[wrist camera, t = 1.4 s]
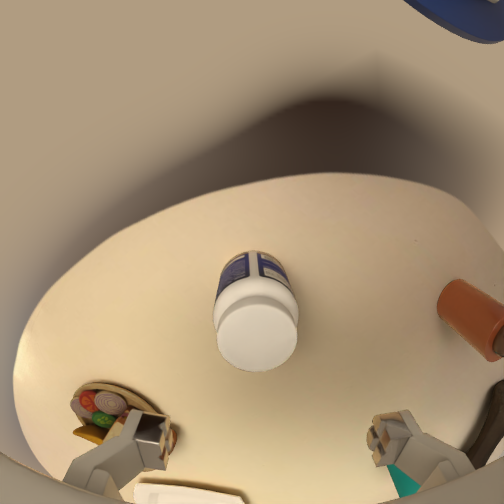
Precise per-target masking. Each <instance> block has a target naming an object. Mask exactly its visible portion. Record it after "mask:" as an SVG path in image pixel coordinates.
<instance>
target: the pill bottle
mask: <svg viewBox="0 0 504 504" xmlns="http://www.w3.org/2000/svg"><path fill="white" fill-rule="evenodd" d="M298 319H299V311H298V306H297V302H296V299H295V297H294V294H293V292H292V289H291V286H290V284H289V281H288V278H287V276H286V273H285V271H284V269H283V267H282V266H281V264H280V263H279V262H278V261H277V260H276V259H275V258H274V257H272V256H271V255H269V254H267V253H264V252H260V251H247V252H243V253H240V254H238V255H236V256H235V257H233V258H232V259H231V260H230V261H228V263H227V264H226V265H225V267H224V268H223V270H222V273H221V276H220V281H219V286H218V290H217V295H216V300H215V304H214V310H213V322H214V327H215V330H216V332H217V345H218V349H219V351H220V353H221V355H222V356H223V358H224V359H225V360H226V361H227V362H228V363H230V364H231V365H233V366H234V367H236V368H238V369H241V370H244V371H249V372H263V371H268V370H271V369H274V368H276V367H278V366H280V365H281V364H283V363H284V362H285V361H286V360H287V359H288V358H289V357H290V356H291V355H292V353H293V352H294V349H295V347H296V344H297V329H296V328H297V325H298Z"/></svg>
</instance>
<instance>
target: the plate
mask: <svg viewBox="0 0 504 504" xmlns="http://www.w3.org/2000/svg"><path fill="white" fill-rule="evenodd" d="M133 498H134V501H135V503H136V504H245V503H244V502H243V500H242V499H241V497H240V496H235V495H230V494H225V493H219V492H214V491H209V490H203V489H198V488H191V487H185V486H176V485H164V484H150V483H136V485H135V488H134V492H133Z"/></svg>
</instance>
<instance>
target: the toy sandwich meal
mask: <svg viewBox="0 0 504 504" xmlns="http://www.w3.org/2000/svg"><path fill="white" fill-rule="evenodd" d="M70 406H71V408H72V410H73V411H74V412H75V413H76V415H77V417H78V419H79V420H80V422H81V423H82V425H83V426H81V427H79V428H77V429H75V430H74V431H73V434H74V435H77V436H80V437H82V438H84V439H87V440H89V441H91V442H93V443H95V444H97V445H101V444H103V443H104V442H106V441H108V440H109V439H111V438H113V437H115V436H119V435H120V433H121V431H122V428H123V426H124V424H125V421H126V419H127V417H128V415H129V412H130V411H131V410H132V409H135V410H140V411H146V412H151V413H157V412H156V411H155V410H154V409H153V408H152V407H151V406H150V405H149V404H148V403H147V402H146V401H144V400H143V399H142V398H140V397H139V396H137V395H136V394H134V393H132V392H130V391H128V390H126V389H124V388H121V387H118V386H115V385H110V384H104V383H91V384H86V385H83V386H81V387H80V388H78V389H77V390H76V392H75V394H74V396H73V399H72V400H71V403H70ZM172 434H173V440H172V447H171V450H170V451H169V452H168V456H169V455H170V454H171V452H172V451H173V449H174V447H175V444H176V441H177V435H176V432H175V431H174V430H172ZM153 470H155V469H151V468H145V469H144V470H143V471H144V472H148V471H153Z"/></svg>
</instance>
